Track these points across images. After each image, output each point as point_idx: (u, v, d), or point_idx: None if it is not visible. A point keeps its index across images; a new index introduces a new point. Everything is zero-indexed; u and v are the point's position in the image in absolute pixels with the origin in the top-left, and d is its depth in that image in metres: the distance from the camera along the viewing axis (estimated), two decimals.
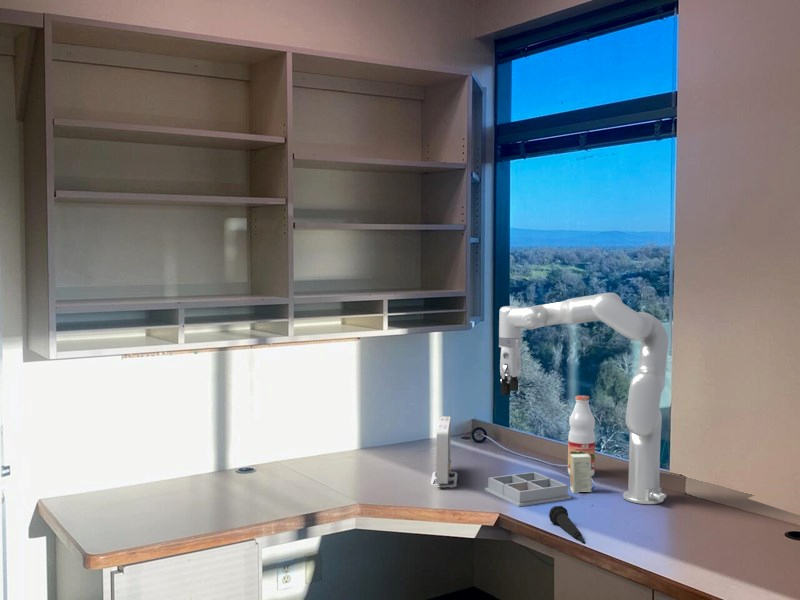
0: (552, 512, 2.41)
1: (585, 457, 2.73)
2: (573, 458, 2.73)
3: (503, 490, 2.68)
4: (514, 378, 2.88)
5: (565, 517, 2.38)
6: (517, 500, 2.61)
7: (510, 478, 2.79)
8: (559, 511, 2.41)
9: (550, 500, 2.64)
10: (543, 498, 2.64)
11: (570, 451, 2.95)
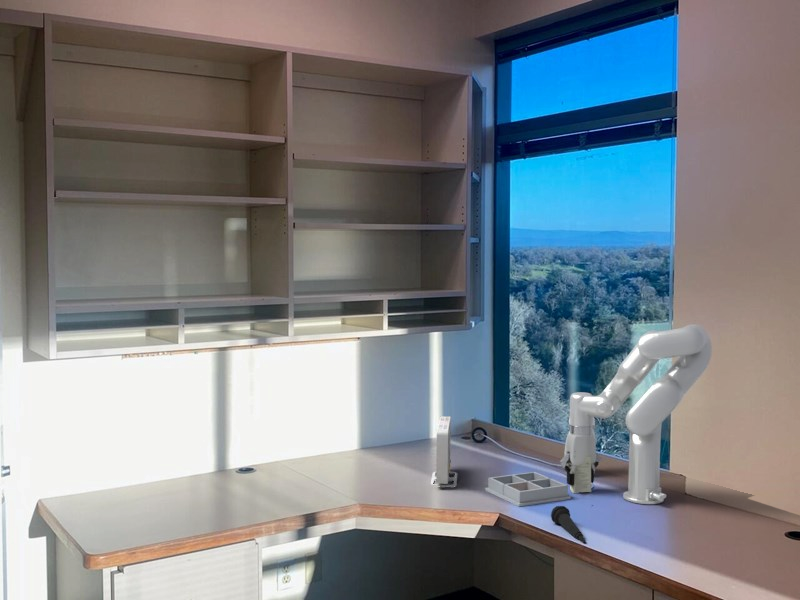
0: (554, 512, 2.41)
1: (585, 457, 2.73)
2: None
3: (503, 490, 2.68)
4: None
5: (567, 517, 2.38)
6: (517, 500, 2.61)
7: (510, 478, 2.79)
8: (561, 511, 2.41)
9: (550, 500, 2.64)
10: (543, 498, 2.64)
11: None
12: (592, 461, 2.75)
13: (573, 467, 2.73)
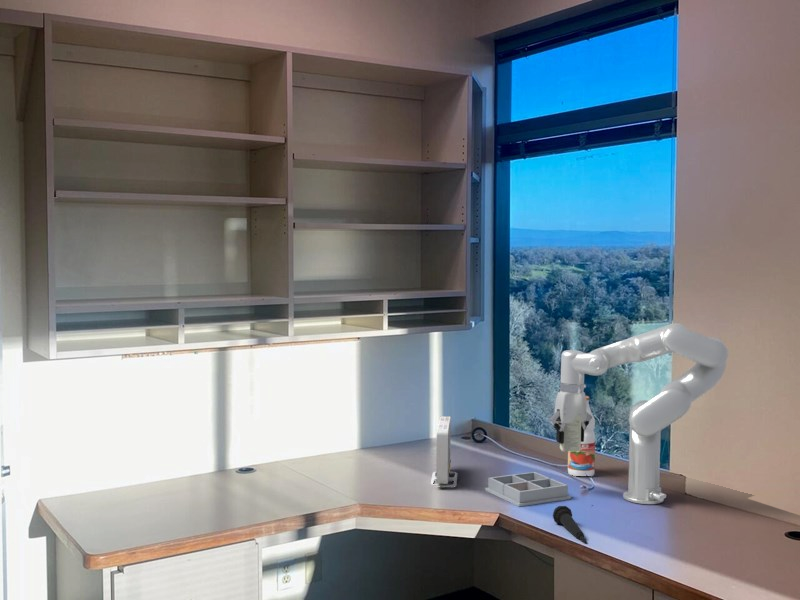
0: (556, 512, 2.41)
1: None
2: None
3: (503, 490, 2.68)
4: None
5: (568, 517, 2.38)
6: (517, 500, 2.61)
7: (510, 478, 2.79)
8: (563, 511, 2.41)
9: (550, 500, 2.64)
10: (543, 498, 2.64)
11: (570, 451, 2.95)
12: (582, 420, 2.73)
13: (563, 425, 2.70)
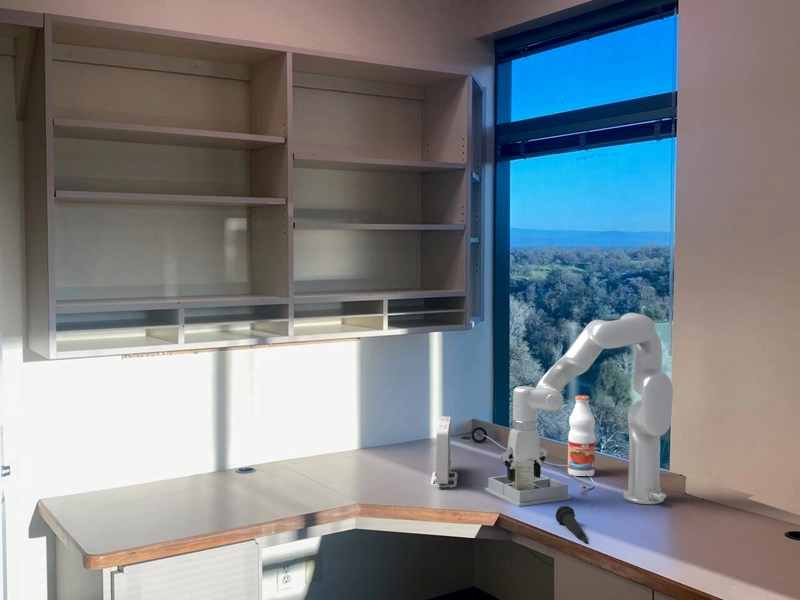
0: (558, 512, 2.41)
1: (527, 461, 2.63)
2: None
3: (503, 490, 2.68)
4: None
5: (571, 517, 2.38)
6: (517, 500, 2.61)
7: None
8: (566, 511, 2.41)
9: (550, 500, 2.64)
10: (543, 498, 2.64)
11: (570, 451, 2.95)
12: (536, 457, 2.65)
13: (514, 462, 2.62)
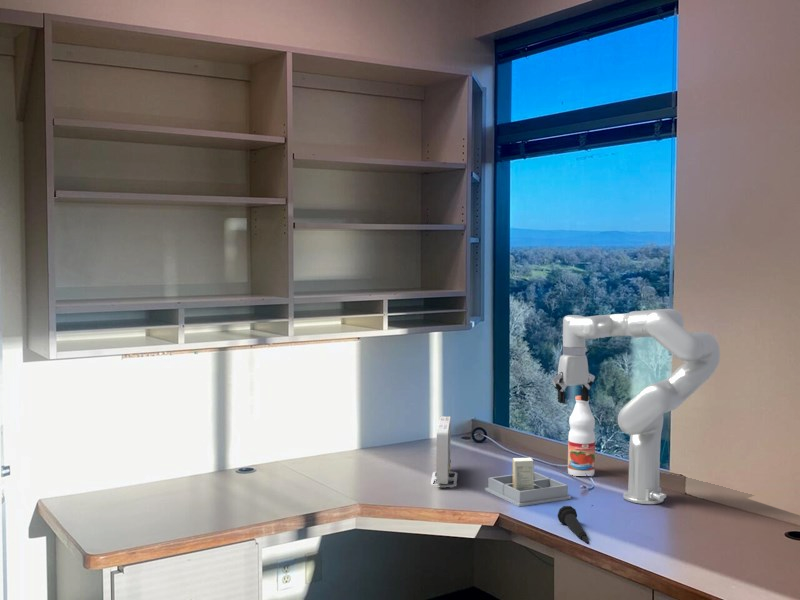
0: (560, 512, 2.41)
1: (527, 461, 2.63)
2: (515, 462, 2.63)
3: (503, 490, 2.68)
4: None
5: (572, 517, 2.37)
6: (517, 500, 2.61)
7: (510, 478, 2.79)
8: (567, 511, 2.41)
9: (550, 500, 2.64)
10: (543, 498, 2.64)
11: (570, 451, 2.95)
12: (584, 382, 2.83)
13: (564, 386, 2.80)
